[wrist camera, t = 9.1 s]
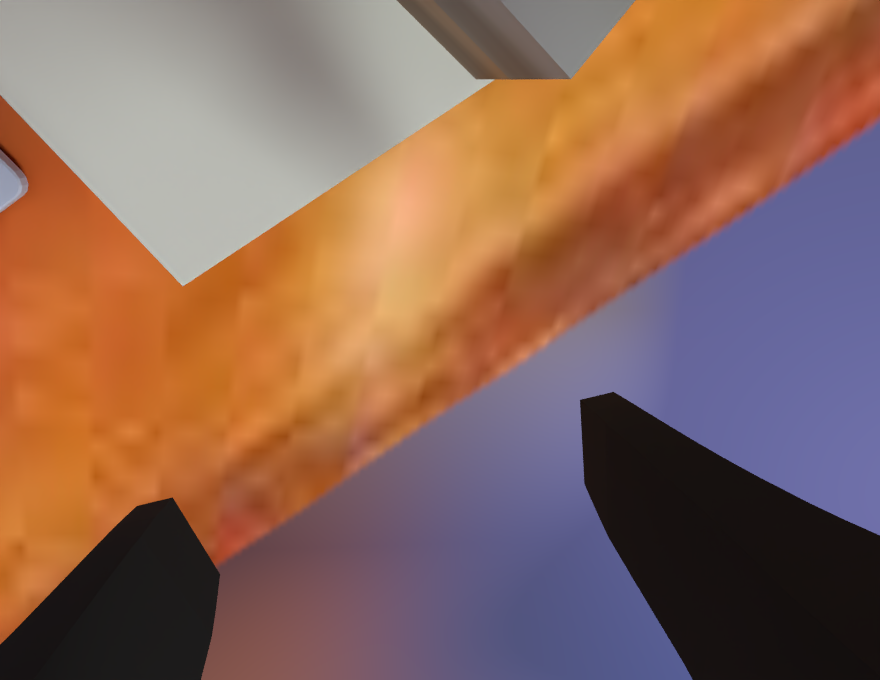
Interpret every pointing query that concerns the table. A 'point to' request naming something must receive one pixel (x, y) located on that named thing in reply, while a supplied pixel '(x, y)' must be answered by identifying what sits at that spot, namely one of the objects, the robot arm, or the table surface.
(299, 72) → the stand
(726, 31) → the table surface
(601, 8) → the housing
